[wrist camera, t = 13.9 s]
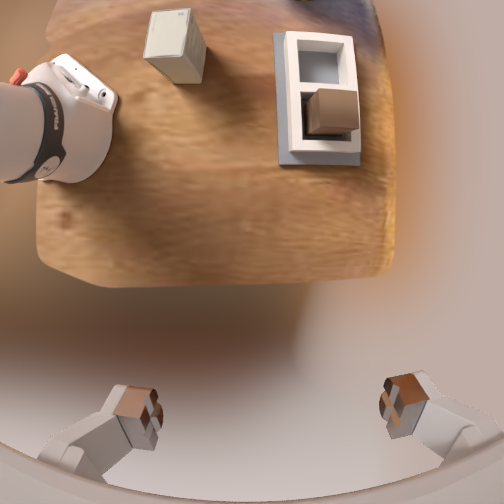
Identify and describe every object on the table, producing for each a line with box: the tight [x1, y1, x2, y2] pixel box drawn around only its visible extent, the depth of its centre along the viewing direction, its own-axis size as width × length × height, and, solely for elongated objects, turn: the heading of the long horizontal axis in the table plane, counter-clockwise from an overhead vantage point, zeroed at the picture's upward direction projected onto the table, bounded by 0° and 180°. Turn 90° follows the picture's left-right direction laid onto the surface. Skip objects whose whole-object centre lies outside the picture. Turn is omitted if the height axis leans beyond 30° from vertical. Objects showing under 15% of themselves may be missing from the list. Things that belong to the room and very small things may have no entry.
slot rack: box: [273, 31, 361, 166], centre depth 33 cm, size 19×11×5 cm, turn 2°
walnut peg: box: [304, 88, 359, 137], centre depth 31 cm, size 4×4×10 cm
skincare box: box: [143, 8, 207, 84], centre depth 29 cm, size 6×4×12 cm
